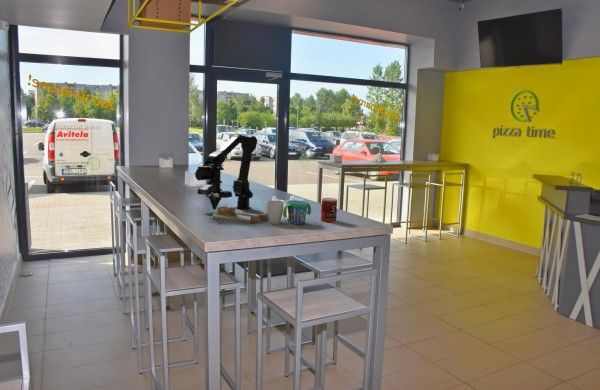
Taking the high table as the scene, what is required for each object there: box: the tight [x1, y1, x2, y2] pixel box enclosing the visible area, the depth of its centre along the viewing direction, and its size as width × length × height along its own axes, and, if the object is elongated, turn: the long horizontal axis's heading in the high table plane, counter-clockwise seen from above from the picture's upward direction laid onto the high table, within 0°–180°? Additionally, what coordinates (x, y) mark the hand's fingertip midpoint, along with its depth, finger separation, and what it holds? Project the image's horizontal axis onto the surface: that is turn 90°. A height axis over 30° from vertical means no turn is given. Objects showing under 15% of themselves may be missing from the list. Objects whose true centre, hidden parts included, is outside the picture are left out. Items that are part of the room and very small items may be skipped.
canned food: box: [320, 197, 338, 223], centre depth 239 cm, size 8×8×11 cm
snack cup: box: [282, 199, 312, 225], centre depth 231 cm, size 16×10×10 cm
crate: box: [216, 205, 236, 217], centre depth 244 cm, size 7×6×4 cm
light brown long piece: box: [211, 210, 269, 224], centre depth 239 cm, size 14×25×3 cm, turn 58°
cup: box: [266, 200, 285, 225], centre depth 230 cm, size 8×8×10 cm
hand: (214, 209), depth 249 cm, fingers closed
